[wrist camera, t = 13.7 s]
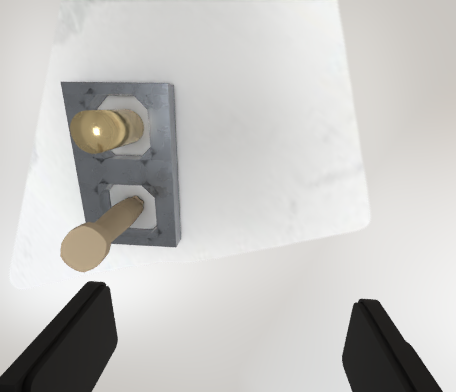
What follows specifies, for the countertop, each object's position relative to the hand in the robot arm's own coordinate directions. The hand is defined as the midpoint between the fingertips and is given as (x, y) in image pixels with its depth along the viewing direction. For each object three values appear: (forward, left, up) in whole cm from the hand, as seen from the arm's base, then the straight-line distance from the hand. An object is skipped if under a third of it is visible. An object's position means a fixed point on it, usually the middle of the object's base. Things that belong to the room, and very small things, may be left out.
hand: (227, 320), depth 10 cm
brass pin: (-4, -18, -32) cm, 37 cm away
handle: (+8, -18, -32) cm, 38 cm away
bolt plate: (+2, -18, -32) cm, 37 cm away
